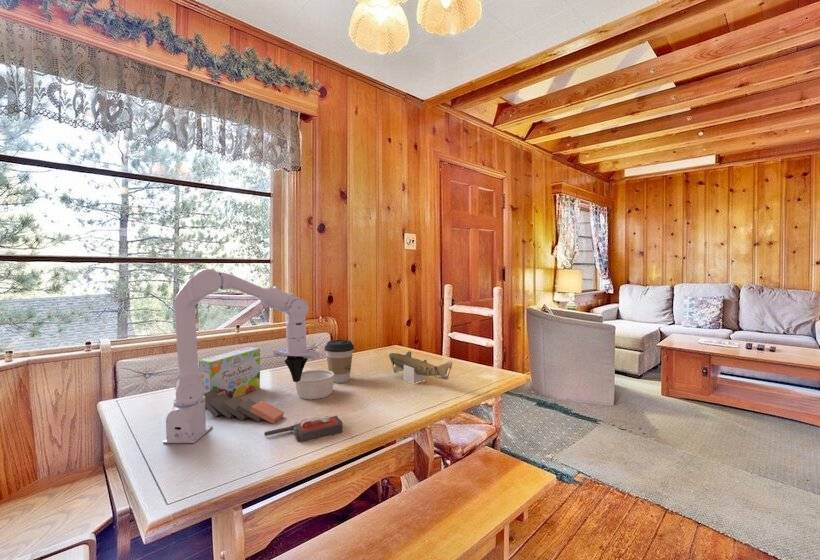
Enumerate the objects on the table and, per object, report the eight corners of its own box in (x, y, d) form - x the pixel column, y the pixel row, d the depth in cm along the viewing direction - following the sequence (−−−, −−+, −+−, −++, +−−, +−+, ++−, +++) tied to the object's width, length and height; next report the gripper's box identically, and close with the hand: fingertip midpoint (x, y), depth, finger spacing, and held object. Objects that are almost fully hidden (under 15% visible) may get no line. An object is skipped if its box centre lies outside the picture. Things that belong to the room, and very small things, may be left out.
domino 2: (243, 408, 115) (223, 393, 116) (231, 414, 110) (211, 399, 112) (241, 412, 115) (221, 397, 117) (229, 419, 110) (209, 403, 112)
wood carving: (442, 397, 128) (442, 364, 128) (381, 373, 155) (381, 346, 155) (460, 391, 134) (460, 360, 134) (399, 369, 161) (399, 343, 160)
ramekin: (314, 386, 140) (313, 367, 140) (342, 391, 134) (342, 372, 134) (286, 397, 129) (286, 376, 128) (316, 404, 122) (315, 382, 122)
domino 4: (271, 410, 113) (248, 398, 115) (260, 417, 108) (237, 404, 110) (269, 415, 113) (247, 403, 115) (258, 422, 108) (236, 409, 110)
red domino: (284, 412, 112) (262, 400, 113) (274, 418, 107) (251, 406, 109) (282, 416, 112) (260, 404, 114) (272, 423, 107) (249, 411, 109)
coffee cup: (349, 386, 140) (349, 345, 139) (319, 384, 142) (319, 344, 141) (358, 376, 151) (358, 339, 150) (330, 375, 153) (330, 338, 152)
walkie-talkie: (336, 421, 110) (263, 437, 100) (336, 406, 110) (263, 420, 100) (347, 433, 102) (269, 451, 92) (347, 417, 102) (269, 434, 92)
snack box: (211, 409, 117) (210, 361, 117) (198, 407, 119) (197, 359, 119) (261, 388, 137) (260, 347, 136) (249, 386, 139) (248, 345, 138)
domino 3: (255, 409, 114) (234, 396, 115) (244, 416, 109) (223, 402, 111) (254, 414, 114) (233, 400, 116) (242, 420, 109) (221, 406, 111)
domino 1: (230, 407, 116) (213, 389, 117) (218, 413, 111) (200, 395, 113) (228, 411, 116) (211, 393, 118) (215, 417, 111) (197, 399, 113)
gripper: (324, 335, 117) (324, 378, 118) (282, 333, 121) (283, 375, 121) (313, 339, 110) (313, 386, 111) (269, 337, 114) (269, 382, 114)
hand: (296, 380), depth 116 cm, fingers closed
